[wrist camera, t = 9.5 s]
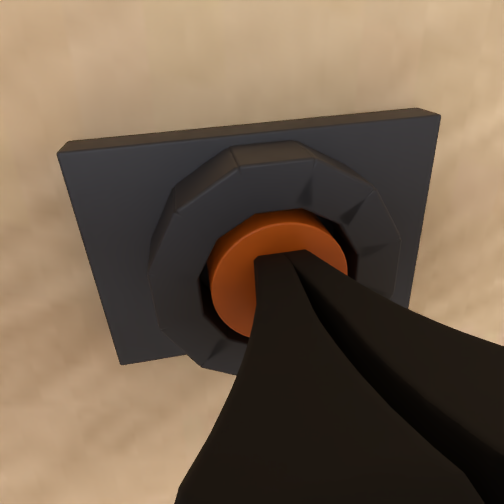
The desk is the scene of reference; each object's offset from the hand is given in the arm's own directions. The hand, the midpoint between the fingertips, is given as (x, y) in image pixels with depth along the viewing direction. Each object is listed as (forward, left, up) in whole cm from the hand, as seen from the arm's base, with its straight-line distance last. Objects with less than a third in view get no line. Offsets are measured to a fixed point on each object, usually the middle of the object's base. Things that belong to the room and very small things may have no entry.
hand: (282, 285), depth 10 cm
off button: (0, 0, -2) cm, 2 cm away
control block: (0, 0, -3) cm, 3 cm away
